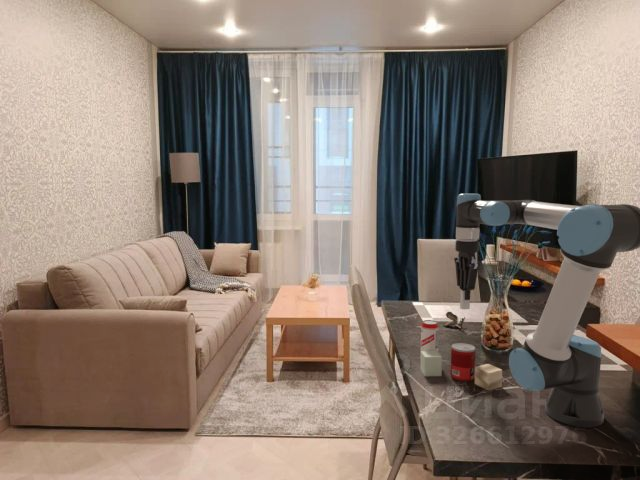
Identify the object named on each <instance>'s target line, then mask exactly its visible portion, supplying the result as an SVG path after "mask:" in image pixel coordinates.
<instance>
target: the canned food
mask: <svg viewBox="0 0 640 480" xmlns="http://www.w3.org/2000/svg"><path fill="white" fill-rule="evenodd" d="M450 351H451V352H450V377H451V378H452V379H453V380H456V381H460V382H471V381H473V380H475V367H476V366H475V365H476V347H475V346H474V345H473V344H469V343H464V342H458V343H453V344H452V345H451V349H450Z"/></svg>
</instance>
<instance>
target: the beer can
mask: <svg viewBox="0 0 640 480" xmlns="http://www.w3.org/2000/svg"><path fill="white" fill-rule="evenodd" d="M420 327H421V328H420V331H421V332H420V352H421V351H438V352H439V329H440V328H439V325H438V321H437V320H432V319H426V320H423V321H422V323H421V326H420ZM419 360H420V361H421V355H420V359H419Z"/></svg>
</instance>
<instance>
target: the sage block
mask: <svg viewBox="0 0 640 480" xmlns="http://www.w3.org/2000/svg"><path fill="white" fill-rule="evenodd" d="M420 356H421V361H420V364H419V365H420V366H419V367H420V368H419V369H420V372H421V373H422V375H423V376H424V377H442V374H443V371H442V369H443V356H442V355H441V353H440V352H439V350H438V351H421V350H420Z"/></svg>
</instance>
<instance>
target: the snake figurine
mask: <svg viewBox="0 0 640 480" xmlns="http://www.w3.org/2000/svg"><path fill="white" fill-rule="evenodd" d="M445 316H446V318H447V319H449V320H450V321H448V322H446V323H445V324H442V327H449V326H456V325H458V326H459V327H460V328H461V329H462V328H463V324H464V322H465V319H466V316H464V317H462V318H461V317H459V318H458V316H457V314H454V313H453V312H452V311H447V312H446V313H445Z"/></svg>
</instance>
